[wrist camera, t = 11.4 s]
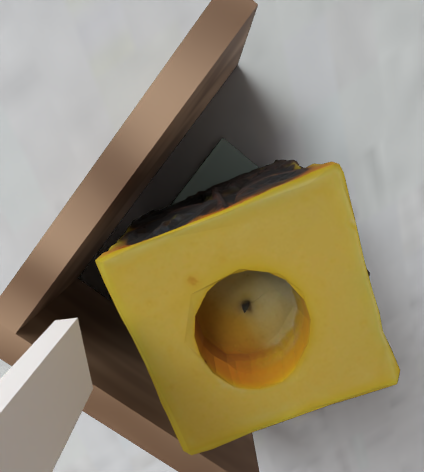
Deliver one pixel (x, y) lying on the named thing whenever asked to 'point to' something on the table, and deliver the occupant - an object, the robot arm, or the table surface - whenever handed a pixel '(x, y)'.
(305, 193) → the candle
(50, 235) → the corner walls
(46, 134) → the table surface
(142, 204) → the table surface
